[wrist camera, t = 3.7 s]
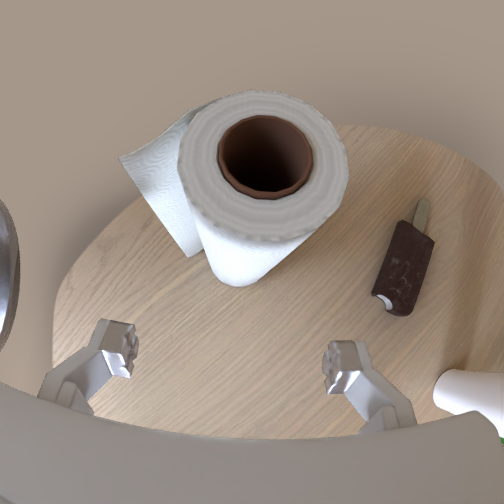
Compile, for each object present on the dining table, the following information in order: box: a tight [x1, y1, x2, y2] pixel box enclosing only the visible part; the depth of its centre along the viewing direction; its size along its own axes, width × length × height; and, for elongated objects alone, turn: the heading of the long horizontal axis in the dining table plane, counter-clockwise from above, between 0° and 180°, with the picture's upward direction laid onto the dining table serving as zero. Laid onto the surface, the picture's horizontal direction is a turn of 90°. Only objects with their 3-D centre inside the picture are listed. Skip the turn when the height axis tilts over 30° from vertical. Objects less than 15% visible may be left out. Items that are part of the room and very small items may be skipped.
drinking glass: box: [433, 369, 504, 438], centre depth 22 cm, size 7×7×15 cm
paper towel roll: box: [118, 90, 349, 287], centre depth 20 cm, size 7×6×21 cm
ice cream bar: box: [371, 198, 435, 316], centre depth 32 cm, size 5×2×15 cm
